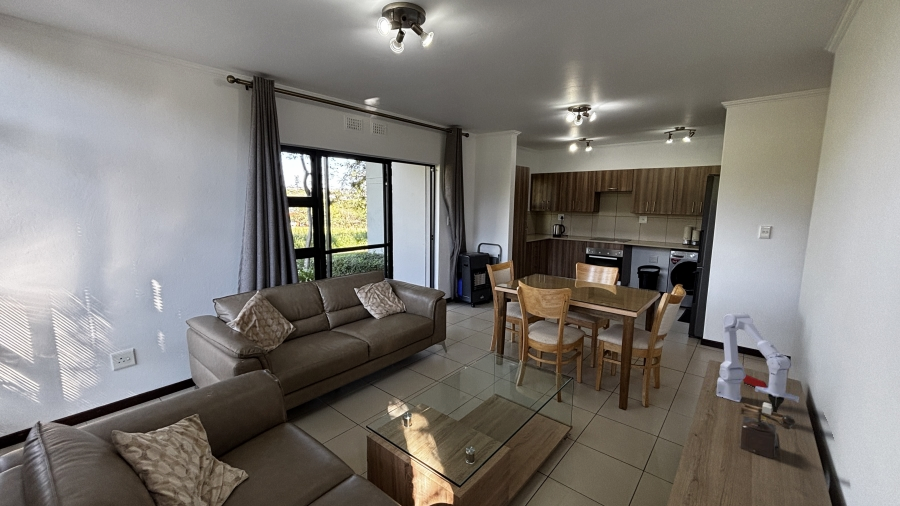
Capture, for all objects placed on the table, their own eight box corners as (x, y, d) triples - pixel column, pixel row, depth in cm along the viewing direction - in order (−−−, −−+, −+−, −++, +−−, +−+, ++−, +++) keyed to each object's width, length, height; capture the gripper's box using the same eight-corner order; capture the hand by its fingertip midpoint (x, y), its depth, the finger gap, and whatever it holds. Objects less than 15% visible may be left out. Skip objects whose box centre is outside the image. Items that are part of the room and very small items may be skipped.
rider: (761, 416, 165) (762, 406, 164) (763, 412, 168) (763, 402, 168) (770, 419, 162) (771, 408, 162) (771, 414, 166) (772, 404, 165)
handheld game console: (778, 392, 189) (779, 379, 189) (763, 395, 186) (764, 382, 186) (753, 382, 201) (754, 369, 201) (738, 385, 198) (739, 372, 198)
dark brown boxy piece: (739, 448, 144) (741, 406, 143) (741, 436, 152) (744, 395, 151) (792, 466, 134) (796, 420, 132) (792, 452, 142) (795, 408, 140)
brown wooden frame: (740, 413, 170) (741, 407, 169) (742, 408, 174) (743, 402, 174) (787, 427, 158) (787, 421, 158) (788, 421, 163) (788, 415, 162)
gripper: (755, 380, 164) (753, 408, 165) (799, 391, 154) (796, 421, 155) (757, 375, 169) (755, 403, 170) (800, 385, 159) (797, 414, 160)
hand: (775, 411), depth 163 cm, fingers closed
